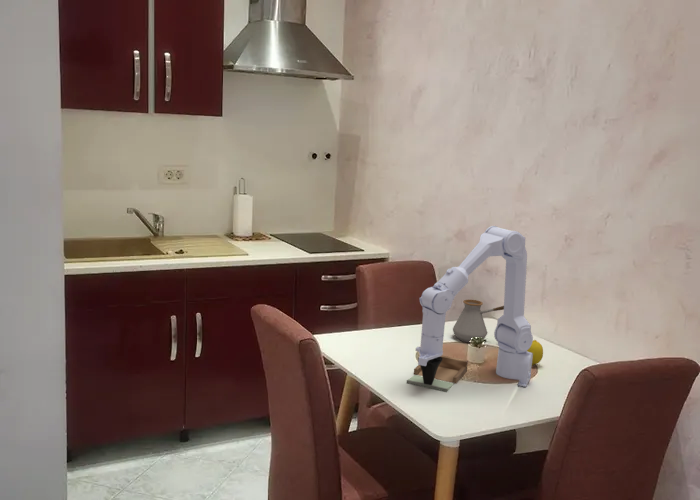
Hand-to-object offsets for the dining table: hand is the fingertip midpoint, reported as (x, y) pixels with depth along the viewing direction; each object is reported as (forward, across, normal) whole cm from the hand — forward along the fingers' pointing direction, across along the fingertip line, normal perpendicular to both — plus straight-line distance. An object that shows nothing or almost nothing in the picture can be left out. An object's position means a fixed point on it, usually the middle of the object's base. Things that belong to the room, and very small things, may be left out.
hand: (428, 383), depth 173 cm
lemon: (+2, -38, +21) cm, 43 cm away
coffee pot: (+2, -52, +3) cm, 52 cm away
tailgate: (+1, -6, 0) cm, 6 cm away
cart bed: (+2, -12, 0) cm, 12 cm away
